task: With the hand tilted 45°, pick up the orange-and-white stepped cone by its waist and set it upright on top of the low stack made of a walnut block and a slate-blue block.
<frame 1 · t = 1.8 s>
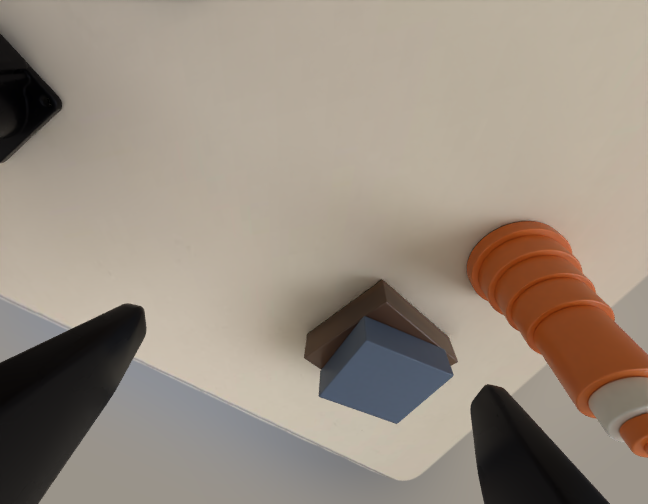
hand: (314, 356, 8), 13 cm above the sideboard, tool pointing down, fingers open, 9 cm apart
top block: (380, 360, 23), point 2 cm above the sideboard, touching base block
base block: (377, 335, 26), on the sideboard, touching top block
cone: (513, 261, 21), on the sideboard
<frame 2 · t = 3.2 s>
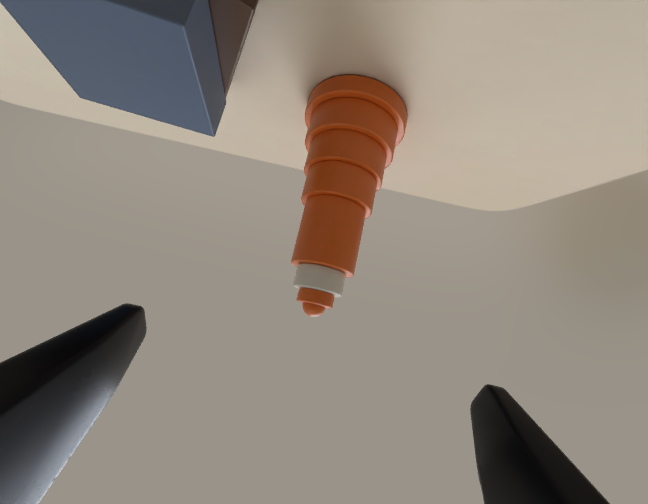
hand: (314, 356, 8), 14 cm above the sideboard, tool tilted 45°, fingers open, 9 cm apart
top block: (139, 27, 13), point 2 cm above the sideboard, touching base block
cone: (356, 114, 19), on the sideboard
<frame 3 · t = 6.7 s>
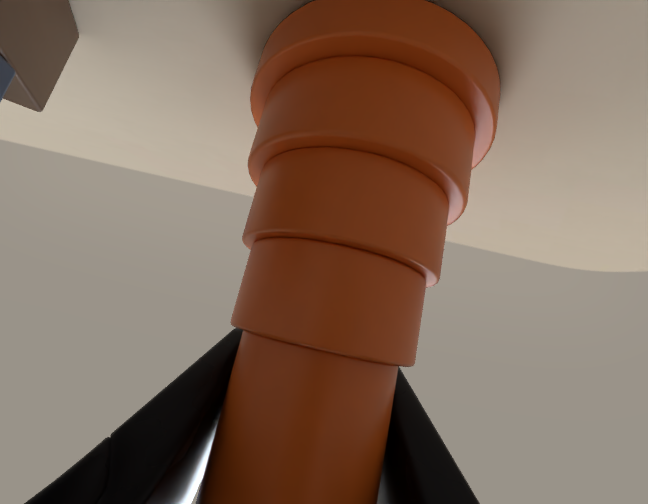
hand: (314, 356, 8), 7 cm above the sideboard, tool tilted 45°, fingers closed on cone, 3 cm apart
cone: (371, 107, 8), on the sideboard, touching gripper
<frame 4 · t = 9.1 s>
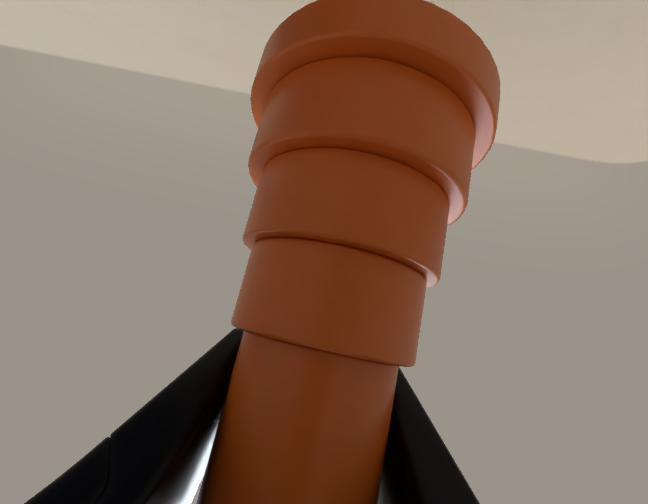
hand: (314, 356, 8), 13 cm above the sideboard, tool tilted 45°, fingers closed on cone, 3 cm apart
cone: (371, 107, 8), point 7 cm above the sideboard, touching gripper
when the fingers open (11 cm above the sideboard, at t = 11.8 s): cone stays where it is, resting on top block.
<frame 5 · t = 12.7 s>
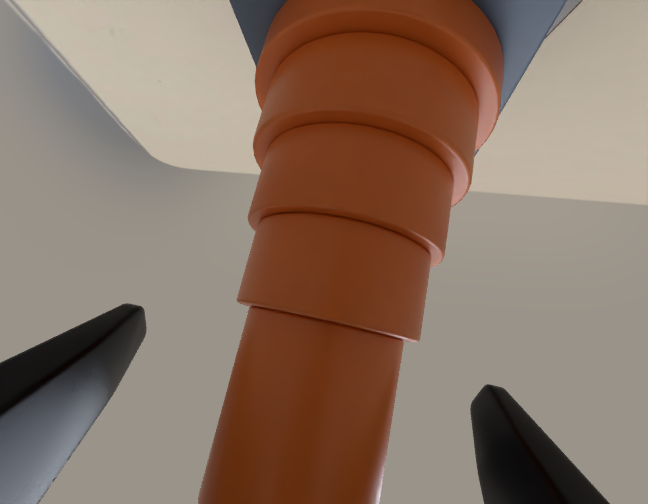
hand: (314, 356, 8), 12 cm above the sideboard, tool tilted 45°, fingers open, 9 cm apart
top block: (389, 26, 9), point 2 cm above the sideboard, touching base block, cone
cone: (375, 90, 9), point 5 cm above the sideboard, touching top block
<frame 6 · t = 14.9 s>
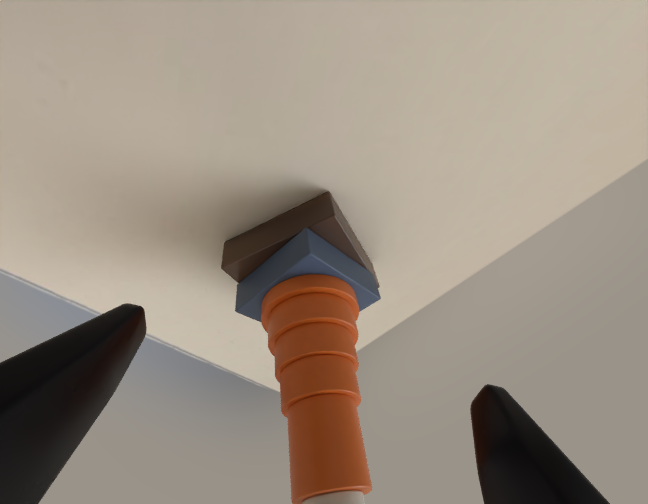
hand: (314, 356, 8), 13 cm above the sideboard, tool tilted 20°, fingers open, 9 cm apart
top block: (306, 278, 22), point 2 cm above the sideboard, touching base block, cone
base block: (303, 253, 23), on the sideboard, touching top block
cone: (309, 305, 20), point 5 cm above the sideboard, touching top block
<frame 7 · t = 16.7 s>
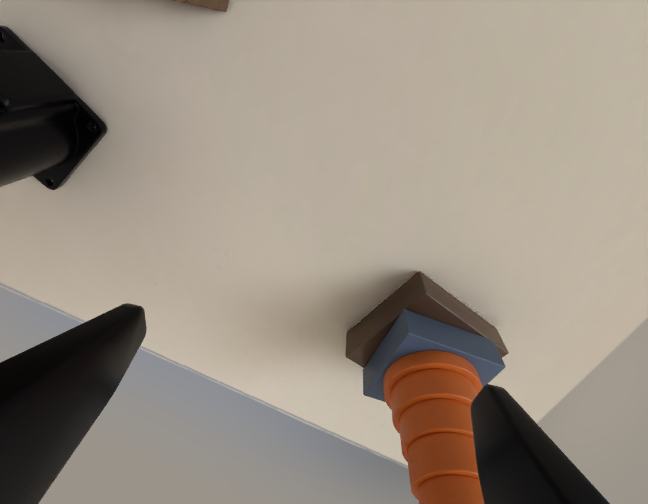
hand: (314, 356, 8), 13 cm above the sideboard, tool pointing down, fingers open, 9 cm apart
top block: (424, 355, 23), point 2 cm above the sideboard, touching base block, cone
base block: (418, 330, 25), on the sideboard, touching top block
cone: (429, 382, 21), point 5 cm above the sideboard, touching top block
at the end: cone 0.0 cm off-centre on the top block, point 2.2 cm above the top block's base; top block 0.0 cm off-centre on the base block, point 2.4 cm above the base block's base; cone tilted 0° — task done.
